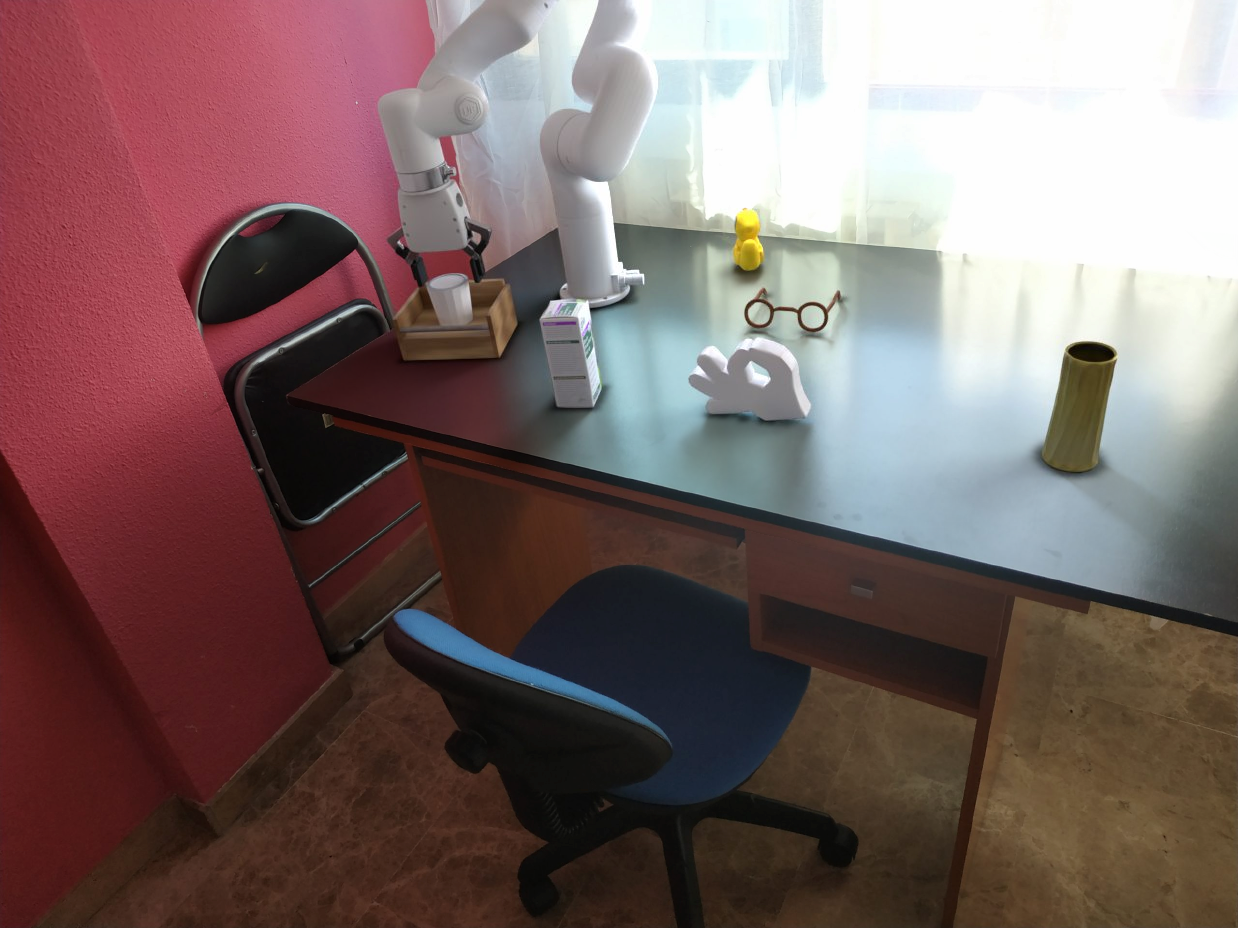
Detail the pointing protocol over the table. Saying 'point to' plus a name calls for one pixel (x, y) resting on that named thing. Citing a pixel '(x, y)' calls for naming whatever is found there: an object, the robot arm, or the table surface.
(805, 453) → the table surface
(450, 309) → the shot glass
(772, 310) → the glasses
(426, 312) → the spice rack
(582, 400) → the syrup box
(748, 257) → the duckling
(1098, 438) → the vase
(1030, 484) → the table surface
